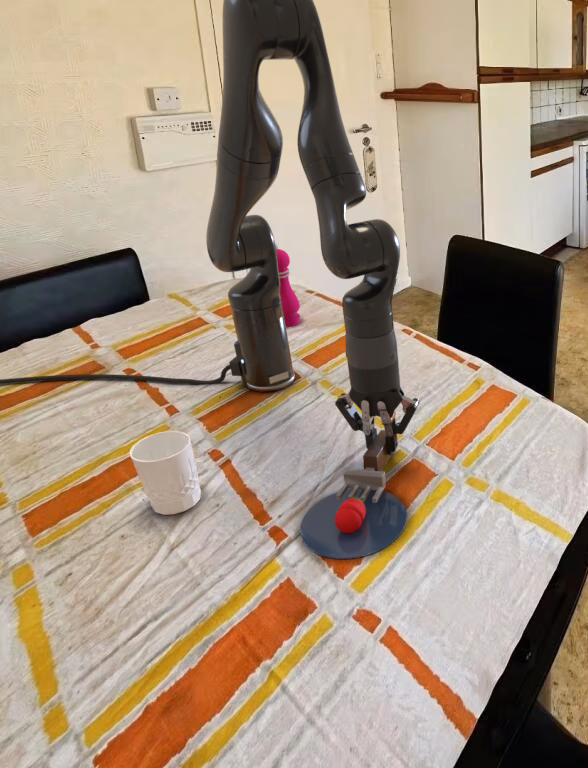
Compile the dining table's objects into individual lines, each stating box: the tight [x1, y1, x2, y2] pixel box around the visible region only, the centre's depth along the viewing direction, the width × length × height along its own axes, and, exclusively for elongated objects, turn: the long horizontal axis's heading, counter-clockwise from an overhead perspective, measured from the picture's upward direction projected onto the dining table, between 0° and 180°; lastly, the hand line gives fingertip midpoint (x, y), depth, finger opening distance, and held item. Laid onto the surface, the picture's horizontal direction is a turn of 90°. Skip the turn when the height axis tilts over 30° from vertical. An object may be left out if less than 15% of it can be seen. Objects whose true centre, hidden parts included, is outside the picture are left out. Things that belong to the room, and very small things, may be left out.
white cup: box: [129, 430, 202, 516], centre depth 91 cm, size 8×8×10 cm
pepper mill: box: [275, 242, 301, 328], centre depth 150 cm, size 7×7×20 cm
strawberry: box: [334, 496, 366, 533], centre depth 88 cm, size 4×6×4 cm
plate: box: [299, 488, 408, 560], centre depth 89 cm, size 15×15×1 cm
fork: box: [336, 429, 392, 503], centre depth 97 cm, size 16×6×4 cm, turn 172°
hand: (382, 451), depth 102 cm, fingers closed on fork, 2 cm apart
